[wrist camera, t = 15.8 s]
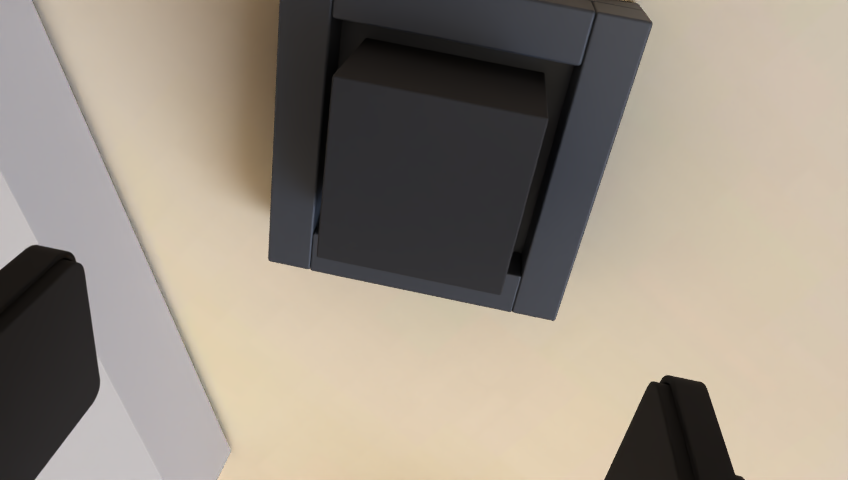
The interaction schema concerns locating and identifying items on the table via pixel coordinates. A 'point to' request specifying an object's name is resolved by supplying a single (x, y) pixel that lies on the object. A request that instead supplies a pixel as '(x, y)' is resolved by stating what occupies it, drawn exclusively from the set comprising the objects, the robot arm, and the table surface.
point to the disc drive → (96, 277)
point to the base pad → (477, 39)
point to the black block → (429, 163)
